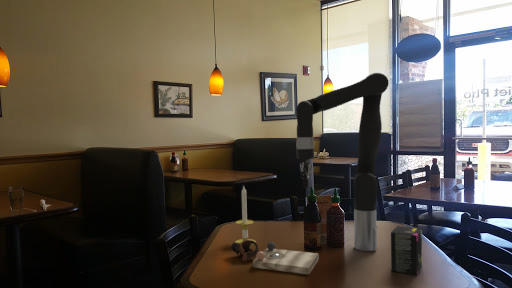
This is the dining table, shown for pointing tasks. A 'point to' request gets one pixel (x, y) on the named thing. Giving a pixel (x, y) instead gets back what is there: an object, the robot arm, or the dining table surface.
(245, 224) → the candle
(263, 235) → the dining table surface
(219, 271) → the dining table surface
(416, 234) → the tampon box
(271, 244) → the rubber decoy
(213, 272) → the dining table surface
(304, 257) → the board
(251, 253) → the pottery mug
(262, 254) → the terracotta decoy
